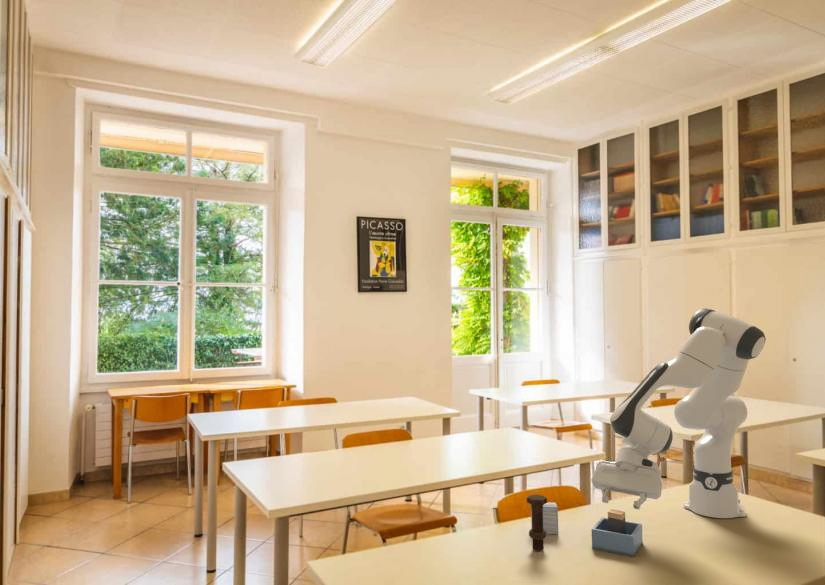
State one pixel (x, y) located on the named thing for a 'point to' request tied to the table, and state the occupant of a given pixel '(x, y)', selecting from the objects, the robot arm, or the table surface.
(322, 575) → the table surface
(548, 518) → the medicine box
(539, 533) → the bolt
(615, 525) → the block
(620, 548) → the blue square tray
